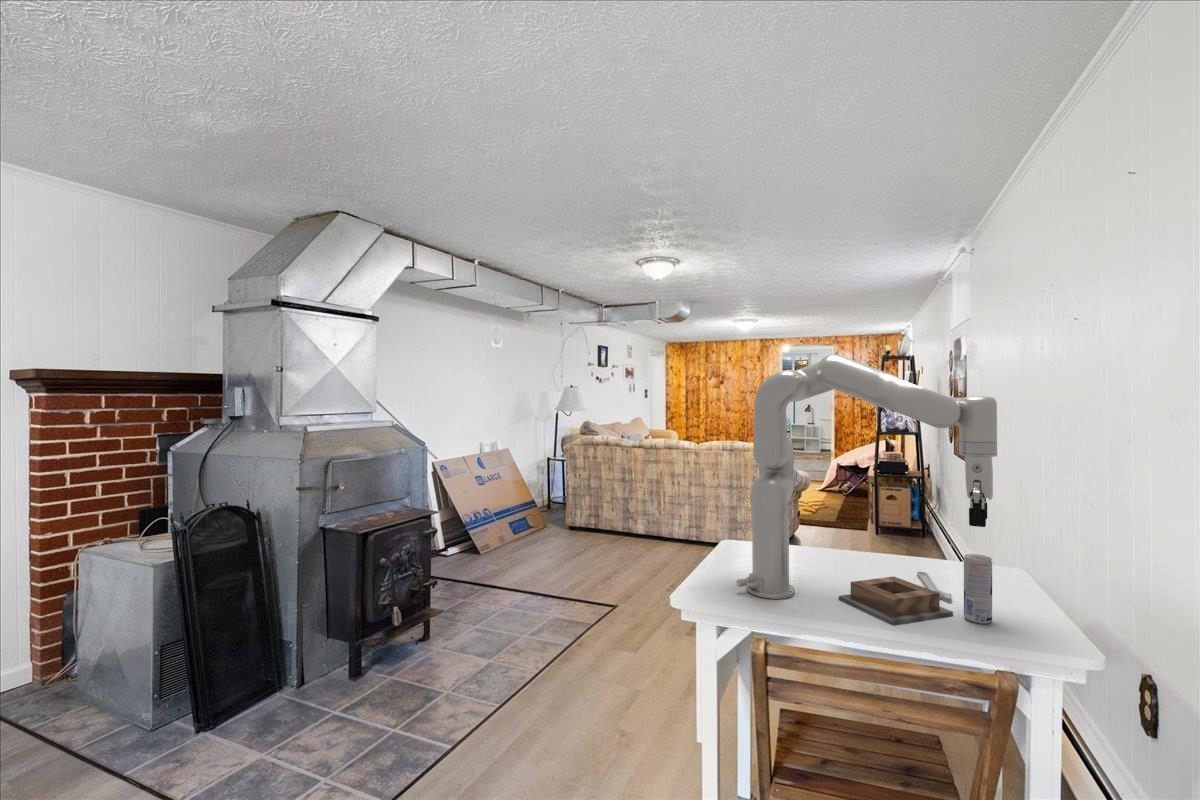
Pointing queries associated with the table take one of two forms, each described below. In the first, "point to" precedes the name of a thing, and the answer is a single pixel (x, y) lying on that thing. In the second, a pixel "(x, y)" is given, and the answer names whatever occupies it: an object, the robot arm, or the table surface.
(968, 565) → the beverage can
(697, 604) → the table surface
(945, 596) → the adjustable wrench
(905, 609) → the holder
